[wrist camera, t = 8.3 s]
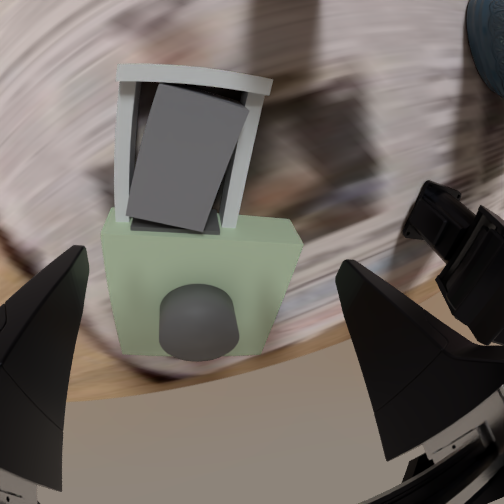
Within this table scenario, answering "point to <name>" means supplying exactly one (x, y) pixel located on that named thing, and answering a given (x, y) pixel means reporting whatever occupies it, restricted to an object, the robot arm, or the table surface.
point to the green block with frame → (194, 245)
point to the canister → (487, 41)
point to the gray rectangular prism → (184, 155)
